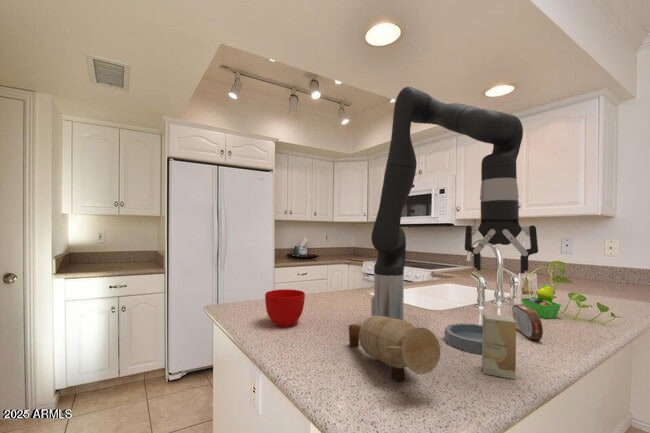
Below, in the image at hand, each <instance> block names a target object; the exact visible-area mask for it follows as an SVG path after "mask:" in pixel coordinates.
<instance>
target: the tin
mask: <svg viewBox="0 0 650 433" xmlns="http://www.w3.org/2000/svg"><path fill="white" fill-rule="evenodd" d="M511 311H512V317H513V318H514V319H515V321H516V331H518V332H519V333H520V334H522V335H523V336H525V337H526V338H527V339H528V340H533V341H534V340H535V341H540V340H542V338H543V333H544V327H543V323H542V320H541V317H539V315H538V313H537V312H536V311H535V310H533V309H531V308H529V307H528V306H526V305H524V304H523V303H522V304H513V305H512V310H511Z"/></svg>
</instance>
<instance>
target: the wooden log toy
mask: <svg viewBox="0 0 650 433" xmlns="http://www.w3.org/2000/svg"><path fill="white" fill-rule="evenodd" d="M348 341H349V347H350V348H358V347H359V346H360V348H362V350H363V351H364V353H366V355H369V356H370V357H372V358H374V359H375V362H376V363H384V364H386V365H388V366H390V374H391V375H390V376H391V380H393V381H395V382H401V381H403V382H404V381H406V374H405V373H406V372H405V368H408V369H409V370H410V371H411V372H413V373H415V374H418V375H426V374H428V373H431V372H432V371H433V370H434V369H436V367H437V365H438V364H439V362H440V359H441V356H442V355H441V354H442V353H441V345H440V342H439V339H438V337H437V336H436V335H435V333H433V332H432V331H431V330H430V329H429V328H425V327H415V326H414V325H413V324H412V323H410V322H409V321H407V320H404V319H403V320H400V319H395V318H389V317H384V316H379V315H377V316H371V315H370V316H369V317H368V318H366V319H365V320H364V321H363V322H362V325H360V324H359V325H358V324H350V325H348Z"/></svg>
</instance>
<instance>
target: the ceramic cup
mask: <svg viewBox="0 0 650 433" xmlns="http://www.w3.org/2000/svg"><path fill="white" fill-rule="evenodd" d="M305 297H306V296H305V291H303V290H298V289H287V288H285V289H273V290H269V291H267V292H265V293H264V299H265V302H264V303H265V308H266V314H267V316H268V318H269V319H270V321H271V322H272V323H273V325H274V326H276V327H279V328H289V327H292V326H295V325H296V323H297V322H298V320H299V319H300V317H302V314H303V310H304V307H305Z"/></svg>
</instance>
